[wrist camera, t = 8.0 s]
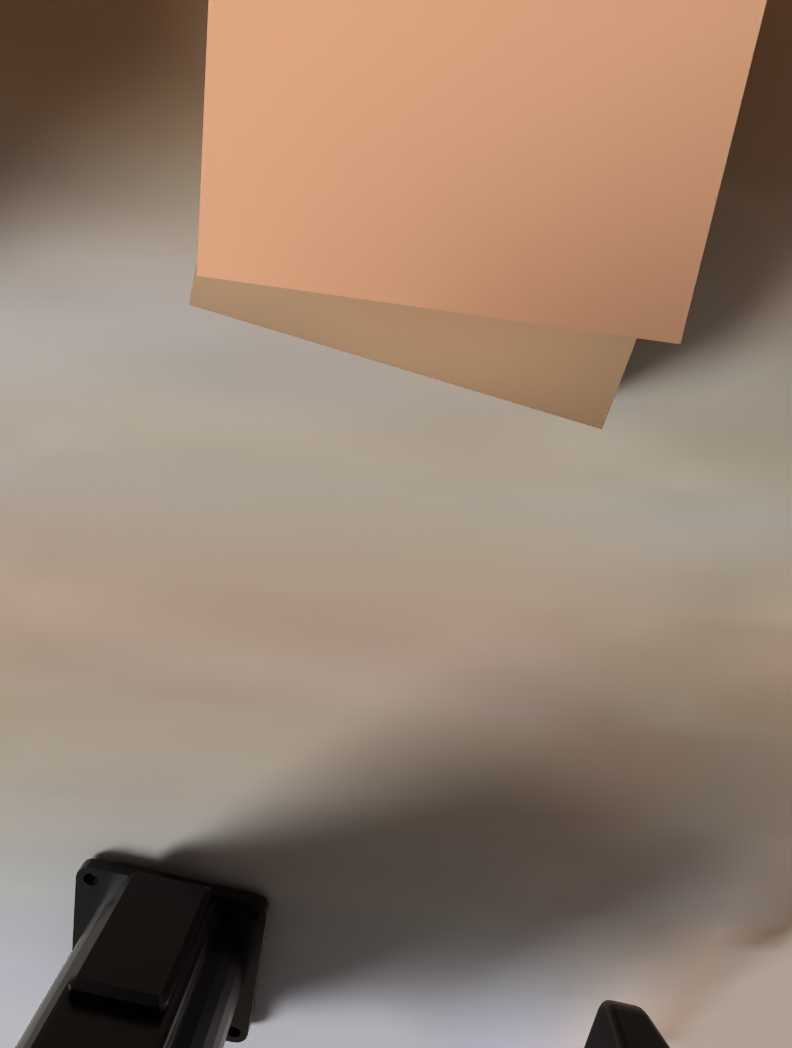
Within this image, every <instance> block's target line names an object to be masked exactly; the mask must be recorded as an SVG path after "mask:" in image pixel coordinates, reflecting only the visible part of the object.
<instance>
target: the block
mask: <svg viewBox="0 0 792 1048" xmlns="http://www.w3.org/2000/svg"><path fill="white" fill-rule="evenodd" d="M189 305H192V306H196V307H199V308H202V309H206V310H209V311H212V312H216V313H219V314H222V315H226V316H229V317H232V318H235V319H239V320H242V321H245V322H249V323H252V324H255V325H259V326H262V327H265V328H269V329H272V330H275V331H279V332H282V333H285V334H288V335H292V336H295V337H298V338H302V339H305V340H308V341H312V342H315V343H318V344H322V345H325V346H328V347H332V348H335V349H338V350H341V351H345V352H348V353H351V354H355V355H358V356H361V357H365V358H368V359H371V360H375V361H378V362H381V363H384V364H388V365H391V366H394V367H398V368H401V369H404V370H408V371H411V372H414V373H418V374H421V375H424V376H428V377H431V378H434V379H437V380H441V381H444V382H447V383H451V384H454V385H457V386H461V387H464V388H467V389H471V390H474V391H477V392H481V393H484V394H487V395H490V396H494V397H497V398H500V399H504V400H507V401H510V402H514V403H517V404H520V405H524V406H527V407H530V408H534V409H537V410H540V411H543V412H547V413H550V414H553V415H557V416H560V417H563V418H567V419H570V420H573V421H577V422H580V423H583V424H586V425H590V426H593V427H596V428H600V429H602V428H603V425H604V422H605V420H606V417H607V415H608V412H609V410H610V407H611V404H612V402H613V399H614V397H615V394H616V391H617V389H618V386H619V384H620V381H621V378H622V376H623V373H624V371H625V368H626V365H627V363H628V360H629V358H630V355H631V352H632V350H633V347H634V345H635V342H636V339H637V338H632V337H625V336H618V335H611V334H604V333H597V332H590V331H583V330H576V329H569V328H562V327H555V326H548V325H540V324H533V323H526V322H519V321H512V320H505V319H498V318H491V317H484V316H477V315H470V314H463V313H456V312H449V311H442V310H435V309H428V308H421V307H414V306H406V305H399V304H392V303H385V302H378V301H371V300H364V299H357V298H350V297H343V296H336V295H329V294H322V293H315V292H308V291H301V290H294V289H287V288H280V287H272V286H265V285H258V284H251V283H244V282H237V281H230V280H223V279H216V278H209V277H202V276H197V265H196V270H195V276H194V281H193V287H192V292H191V298H190V303H189Z"/></svg>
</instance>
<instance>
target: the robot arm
mask: <svg viewBox="0 0 792 1048" xmlns="http://www.w3.org/2000/svg"><path fill="white" fill-rule="evenodd" d="M92 874H93V875H92ZM94 875H95V876H94ZM269 908H270V907H269V902H268V900H267V899H266V898H265V897H264V896H262V895H260V894H257V893H253V892H248V891H244V890H239V889H234V888H230V887H225V886H221V885H216V884H211V883H207V882H202V881H197V880H193V879H188V878H183V877H179V876H174V875H170V874H165V873H160V872H156V871H151V870H146V869H142V868H137V867H133V866H128V865H123V864H119V863H114V862H109V861H105V860H100V859H89V860H86V861H85V862H84V863H83V865H82V866H81V868H80V869H79V871H78V872H77V875H76V889H75V909H74V929H73V949H72V952H71V954H70V956H69V957H68V959H67V961H66V963H65V964H64V966H63V968H62V969H61V971H60V973H59V974H58V976H57V978H56V980H55V981H54V983H53V985H52V986H51V988H50V990H49V991H48V993H47V995H46V996H45V998H44V1000H43V1002H42V1003H41V1005H40V1007H39V1008H38V1010H37V1012H36V1013H35V1015H34V1017H33V1019H32V1020H31V1022H30V1024H29V1025H28V1027H27V1029H26V1030H25V1032H24V1034H23V1035H22V1037H21V1039H20V1041H19V1042H18V1044H17V1046H16V1047H15V1048H223V1046H224V1043H225V1041H230V1042H241V1041H243V1040H245V1039H246V1037H247V1035H248V1032H249V1028H250V1025H251V1019H252V1013H253V1006H254V1000H255V994H256V988H257V982H258V976H259V970H260V964H261V957H262V951H263V945H264V939H265V933H266V927H267V921H268V915H269ZM252 909H255V910H257V911H254V910H252ZM584 1048H670V1047H669V1046H668V1044H667V1043H666V1041H665V1040H664V1038H663V1037H662V1035H661V1034H660V1032H659V1031H658V1029H657V1028H656V1027H655V1025H654V1024H653V1022H652V1021H651V1019H650V1018H649V1016H648V1015H647V1014H646V1013H645V1012H644V1011H643V1010H642V1009H641V1008H640V1007H638V1006H635V1005H630V1004H626V1003H621V1002H616V1001H612V1000H606V1001H604V1002H603V1003H602V1004H601V1005H600V1007H599V1009H598V1012H597V1014H596V1017H595V1020H594V1022H593V1025H592V1028H591V1031H590V1033H589V1036H588V1039H587V1041H586V1044H585V1047H584Z"/></svg>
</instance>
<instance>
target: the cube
mask: <svg viewBox="0 0 792 1048" xmlns="http://www.w3.org/2000/svg"><path fill="white" fill-rule="evenodd" d="M766 2H767V0H208V24H207V47H206V71H205V94H204V118H203V142H202V165H201V189H200V212H199V236H198V259H197V276H202V277H209V278H216V279H223V280H230V281H237V282H244V283H251V284H258V285H265V286H272V287H280V288H287V289H294V290H301V291H308V292H315V293H322V294H329V295H336V296H343V297H350V298H357V299H364V300H371V301H378V302H385V303H392V304H399V305H406V306H414V307H421V308H428V309H435V310H442V311H449V312H456V313H463V314H470V315H477V316H484V317H491V318H498V319H505V320H512V321H519V322H526V323H533V324H540V325H548V326H555V327H562V328H569V329H576V330H583V331H590V332H597V333H604V334H611V335H618V336H625V337H632V338H639V339H646V340H653V341H660V342H667V343H675V344H680V343H681V340H682V336H683V332H684V328H685V324H686V320H687V316H688V312H689V308H690V304H691V300H692V296H693V292H694V288H695V284H696V280H697V276H698V272H699V268H700V264H701V260H702V256H703V252H704V248H705V244H706V240H707V236H708V232H709V228H710V224H711V220H712V216H713V212H714V209H715V205H716V201H717V197H718V193H719V189H720V185H721V181H722V177H723V173H724V169H725V165H726V161H727V157H728V153H729V149H730V145H731V141H732V137H733V133H734V129H735V125H736V121H737V117H738V113H739V109H740V105H741V101H742V97H743V93H744V89H745V85H746V81H747V77H748V74H749V70H750V66H751V62H752V58H753V54H754V50H755V46H756V42H757V38H758V34H759V30H760V26H761V22H762V18H763V14H764V10H765V6H766Z"/></svg>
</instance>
